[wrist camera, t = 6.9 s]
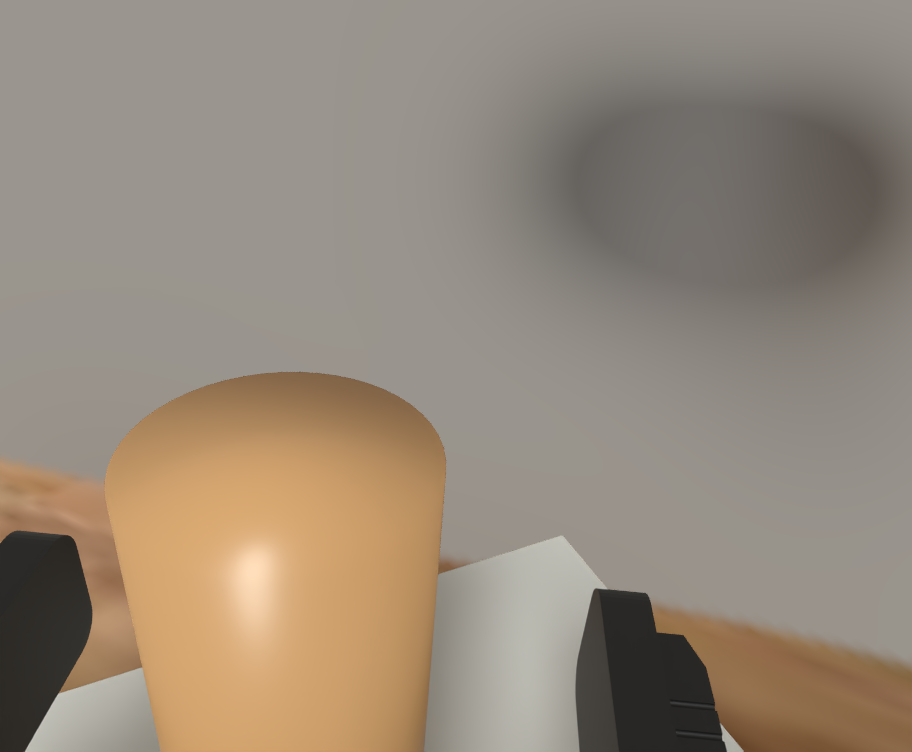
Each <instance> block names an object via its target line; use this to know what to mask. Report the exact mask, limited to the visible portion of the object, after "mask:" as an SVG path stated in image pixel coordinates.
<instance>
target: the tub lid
mask: <svg viewBox="0 0 912 752" xmlns="http://www.w3.org/2000/svg"><path fill="white" fill-rule="evenodd" d="M445 478H446V457H445V452H444V447H443V445H442V442H441V440H440V437H439V435H438V434H437V432H436V430H435V429H434V428H433V426H432V425H431V423H430V422H429V421H428V420H427V419H426V418H425V417H424V415H423V414H422V413H420V412H419V411H418V410H417V409H416V408H414V407H413V406H412V405H411V404H409V403H408V402H406V401H405V400H403V399H401V398H400V397H398V396H396V395H394V394H392V393H390V392H388V391H386V390H384V389H382V388H379V387H377V386H374V385H371V384H368V383H365V382H362V381H358V380H355V379H351V378H346V377H341V376H336V375H329V374H328V375H327V374H320V373H307V372H278V373H265V374H257V375H250V376H243V377H239V378H234V379H229V380H225V381H221V382H218V383H214V384H211V385H208V386H205V387H202V388H199V389H197V390H194V391H191V392H189V393H187V394H185V395H183V396H180V397H178V398H176V399H174V400H172V401H170V402H168V403H167V404H165V405H163V406H162V407H160V408H158V409H156V410H155V411H154V412H152V413H151V414H149V415H148V416H147V417H145V418H144V419H143V420H142V421H140V422H139V423H138V424H137V425H136V426H135V427H134V428H133V429H132V430H131V431H130V432H129V433H128V434H127V435H126V437H125V438H124V439H123V440H122V441H121V442H120V444H119V446H118V447H117V449H116V450H115V452H114V454H113V455H112V458H111V460H110V463H109V466H108V468H107V472H106V478H105V499H106V504H107V508H108V513H109V517H110V522H111V526H112V531H113V536H114V540H115V545H116V549H117V554H118V558H119V563H120V568H121V572H122V577H123V581H124V586H125V590H126V595H127V600H128V604H129V609H130V613H131V618H132V623H133V627H134V632H135V636H136V641H137V645H138V650H139V655H140V659H141V664H142V668H139V669H136V670H132V671H129V672H126V673H123V674H120V675H116V676H113V677H110V678H107V679H104V680H101V681H97V682H94V683H91V684H88V685H85V686H82V687H78V688H75V689H72V690H69V691H66V692H63V693H59V694H58V695H57V697H56V698H55V700H54V702H53V703H52V705H51V707H50V709H49V710H48V712H47V714H46V716H45V717H44V719H43V721H42V723H41V724H40V726H39V728H38V730H37V731H36V733H35V735H34V736H33V738H32V740H31V742H30V743H29V745H28V747H27V749H26V750H25V752H580V751H579V738H578V725H577V712H576V696H575V683H576V667H577V660H578V654H579V650H580V645H581V641H582V637H583V632H584V628H585V623H586V619H587V615H588V610H589V606H590V601H591V597H592V594H593V591H594V589H595V588H597V589H607V588H606V586H605V585H604V584H603V583H602V582H601V581H600V580H599V578H598V577H597V576H596V575H595V573H594V572H593V571H592V570H591V569H590V567H589V566H588V565H587V564H586V563H585V561H584V560H583V559H582V558H581V557H580V555H579V554H578V553H577V552H576V551H575V550H574V548H573V547H572V546H571V545H570V544H569V543H568V541H567V540H566V539H565V538H564V536H563V535H561V536H558V537H555V538H552V539H548V540H545V541H542V542H539V543H536V544H533V545H529V546H526V547H523V548H520V549H517V550H514V551H510V552H507V553H504V554H501V555H498V556H495V557H491V558H488V559H485V560H482V561H479V562H475V563H472V564H469V565H466V566H463V567H459V568H456V569H453V570H450V571H447V572H444V573H440V574H438V567H439V554H440V541H441V529H442V515H443V504H444V491H445ZM720 726H721V730H722V740H723V741H724V742H725V746H726V750H727V752H744V751H743V750H742V749H741V747H740V746H739V745H738V744H737V743H736V741H735V740H734V739H733V738H732V737H731V735H730V734H729V733H728V732H727V731H726V729H725V728H724V727H723V726H722V725H721V724H720Z"/></svg>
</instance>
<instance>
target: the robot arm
mask: <svg viewBox="0 0 912 752" xmlns="http://www.w3.org/2000/svg"><path fill="white" fill-rule="evenodd" d="M91 624H92V605H91V601H90V597H89V593H88V589H87V585H86V581H85V577H84V573H83V569H82V565H81V562H80V558H79V554H78V550H77V546H76V543H75V541H74V539H73V538H72V537H71V536H68V535H58V534H48V533H37V532H27V531H14V532H12V533H10V534H9V535H8V536H7V537H6V538H5V539H4V540H3V541H2V542H1V544H0V752H25V750H26V749H27V747H28V745H29V743H30V742H31V740H32V738H33V736H34V735H35V733H36V731H37V730H38V728H39V726H40V724H41V723H42V721H43V719H44V717H45V716H46V714H47V712H48V710H49V709H50V707H51V705H52V703H53V702H54V700H55V698H56V697H57V695H58V693H59V691H60V690H61V688H62V686H63V684H64V683H65V681H66V679H67V677H68V676H69V674H70V672H71V671H72V669H73V667H74V665H75V664H76V662H77V660H78V658H79V657H80V655H81V653H82V651H83V649H84V647H85V645H86V643H87V640H88V637H89V633H90V630H91ZM575 696H576V712H577V725H578V738H579V751H580V752H727V750H726V746H725V742H724V741H723V740H722V730H721V726H720V722H719V718H718V714H717V711H715V702H714V698H713V694H712V690H711V686H710V682H709V678H708V674H707V670H706V667H705V666H704V664H703V663H702V661H701V660H700V658H699V657H698V656H697V654H696V653H695V651H694V650H693V648H692V647H691V645H690V644H689V643H688V641H687V640H686V638H685V637H684V635H676V634H666V633H656V627H655V622H654V617H653V612H652V607H651V602H650V599H649V597H648V595H647V594H646V593H639V592H628V591H618V590H608V589H597V588H595V589H594V591H593V594H592V597H591V601H590V606H589V610H588V615H587V619H586V623H585V628H584V632H583V637H582V641H581V645H580V650H579V654H578V660H577V667H576V683H575Z"/></svg>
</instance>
